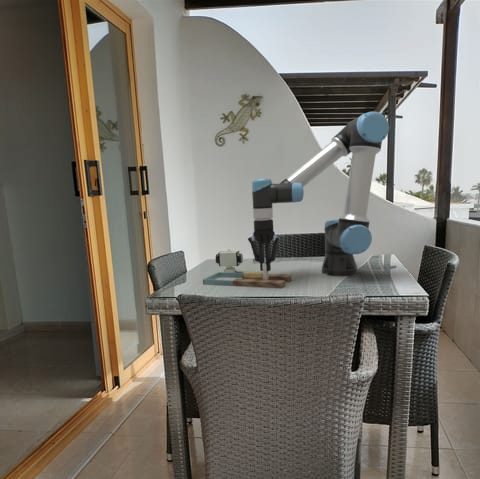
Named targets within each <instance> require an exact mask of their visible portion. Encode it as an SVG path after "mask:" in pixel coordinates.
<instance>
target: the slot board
mask: <svg viewBox="0 0 480 479" xmlns="http://www.w3.org/2000/svg"><path fill="white" fill-rule="evenodd" d="M292 276H293V275H292V274H285V273H284V274H281V273H269V279H267V280H261V279H244V275H242V278H234V279H233V281H232V284H233V286H232V287H244V288H245V287H247V288H248V287H249V288H264V289H265V288H267V289H284V288H285V287H286V285H288V284H289V283H290V282H291V281H292V279H293V278H292Z"/></svg>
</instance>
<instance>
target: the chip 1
mask: <svg viewBox="0 0 480 479" xmlns="http://www.w3.org/2000/svg"><path fill="white" fill-rule="evenodd" d="M256 271H257V270H256ZM256 271H255V270H250V271H249V270H247V271H245V272H242V273H243V275H244V279H253V273H254V272H256Z"/></svg>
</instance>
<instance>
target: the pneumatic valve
mask: <svg viewBox="0 0 480 479" xmlns="http://www.w3.org/2000/svg"><path fill="white" fill-rule="evenodd" d="M243 256H244V255H243V254H242V253H241V252H240V250H231V249H227V250H221V251H218V253H216V255H215V264H217V265H218V267H225V269H223V272H228V273H237V269H236V268H235V267H239V266H240V265H241V264H243V261H244V257H243Z"/></svg>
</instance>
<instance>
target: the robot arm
mask: <svg viewBox="0 0 480 479" xmlns="http://www.w3.org/2000/svg"><path fill="white" fill-rule="evenodd" d="M389 132H390V124H389V121H388V119H387V118H386V117H385V115H384V114H382V113H381V112H379V111H368V112H366V113H363V114H361V115H360V116H359V117H356V118H355V119H352V120H351V121H349V122H348V123H347V124H346V125H345V126H344V127H342V129H340V131H338V133H337V134H336V135H334V136H333V137H332V138H331V141H330V143H328V144H326V146H324V148H322V149H320V150H319V151H318V152H317V153H316V154H314V155H313V156H312V157H311V158H309V159H308V160H307V161H306V162H304V163H303V164H302V165H301V166H299V167H298V168H296V169H295V171H293V172H292V173H291V174H289V175H288V176H287V177H286V178H285V179H283V180H282V181H281V182H279V183H273V182H272V179H271V178H257V179H254V180H253V181H252V182H251V183H252V184H251V189H252V190H251V195H252V196H251V198H252V207H253V208H252V210H253V211H252V213H253V219H254V220H253V234H252V235H251V236H250V237H248V238H247V241H248V242H249V243H250V247H251V249H252V254H253V258H254V261H255V262H258V263H259V268H260V269H259V270H260V272H263V280H267V279H269V274H270V273H269V272H270V271H271V263H272V262H274V261H275V260H276V256H277V250H278V245H279V242H280V241H281V237H280V236H277V235H276V234H275V231H274V220H273V217H274V216H273V215H274V213H273V204H289V203H291V204H292V203H300V202H302V201H303V199H304V193H305V191H304V187H305V186H307V185H308V184H309V183H310V182H311V181H313V180H314V179H315V178H317V177H318V176H319V175H321V174H322V173H323V172H324V171H325V170H326V169H328V168H329V167H331V166H332V165H333V164H334V163H336V162H337V161H338V160H340V159H341V158H342V157H347V156H348V155H349V154H351V153H352V154H351V155H352V156H351V161H350V169H349V176H348V181H347V187H346V188H347V189H346V196H345V201H344V202H345V203H344V209H343V214H342V215H341V216H339V218H338V219H332V220H327V221H325V222H324V228H323V229H324V246H325V247H324V248H325V250H324V251H325V254H324V259H323V262H322V265H321V273H322V274H325V275H328V276H352V275H355V274H358V265H357V263H356V259H355V257H354V255H360V254H363V253H364V252H366V251H367V250H368V249H369V248H370V246H371V244H372V241H373V237H372V236H373V235H372V232H371V231H370V229H369V228H370V220H369V219H368V216H367V215H368V214H367V212H368V207H369V200H370V193H371V188H372V187H371V186H372V183H373V182H372V181H373V174H374V168H375V163H376V162H375V161H376V156H377V154H379V152H381V151H382V145H383V141H384V140H385V139H386V138H387V137H388V135H389ZM272 240H273V243H272V244H273V245H272V247H271V241H272ZM256 241H257V242H258V243H257V242H256ZM257 244H258V246H257ZM271 248H272V249H271Z"/></svg>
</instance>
